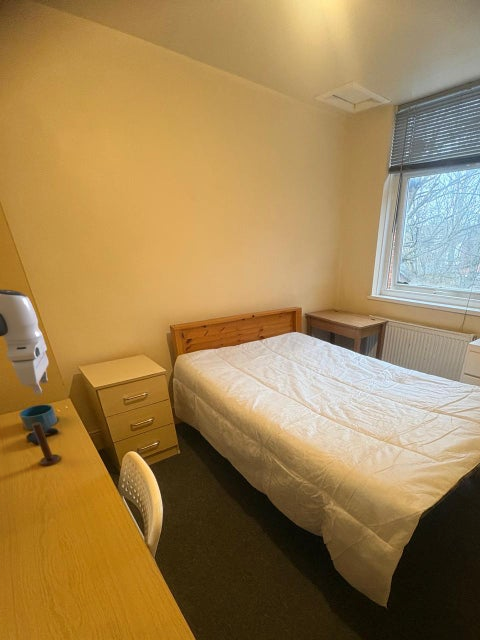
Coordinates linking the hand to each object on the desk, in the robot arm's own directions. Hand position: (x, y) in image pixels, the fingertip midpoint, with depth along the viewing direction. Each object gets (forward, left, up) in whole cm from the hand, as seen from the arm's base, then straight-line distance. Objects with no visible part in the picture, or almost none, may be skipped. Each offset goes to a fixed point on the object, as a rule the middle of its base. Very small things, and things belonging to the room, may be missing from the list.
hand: (41, 387), depth 102 cm
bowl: (-11, +28, -26) cm, 40 cm away
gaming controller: (-9, +15, -26) cm, 32 cm away
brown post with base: (-4, -3, -26) cm, 26 cm away
